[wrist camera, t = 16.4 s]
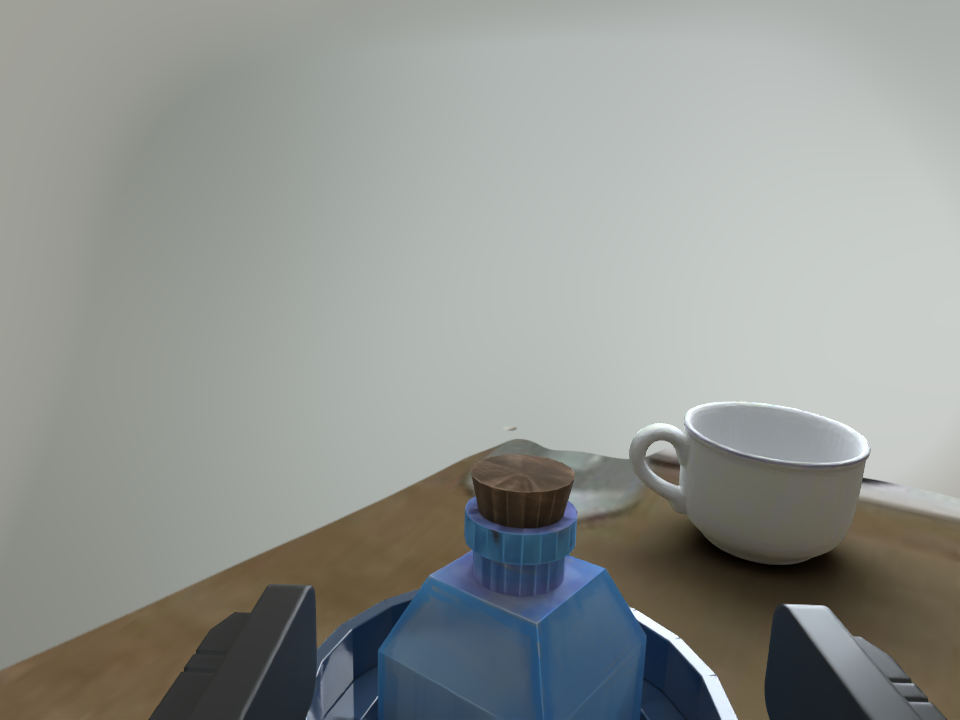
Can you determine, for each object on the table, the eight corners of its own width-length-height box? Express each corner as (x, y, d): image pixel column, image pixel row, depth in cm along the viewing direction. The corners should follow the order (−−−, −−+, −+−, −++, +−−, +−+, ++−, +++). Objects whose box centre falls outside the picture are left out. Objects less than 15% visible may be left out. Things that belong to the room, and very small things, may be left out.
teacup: (830, 519, 49) (845, 409, 47) (876, 600, 38) (898, 462, 37) (627, 495, 52) (634, 391, 50) (620, 564, 42) (629, 436, 40)
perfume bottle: (633, 795, 24) (660, 469, 22) (534, 936, 19) (556, 537, 17) (490, 715, 28) (500, 428, 25) (378, 817, 23) (377, 475, 21)
